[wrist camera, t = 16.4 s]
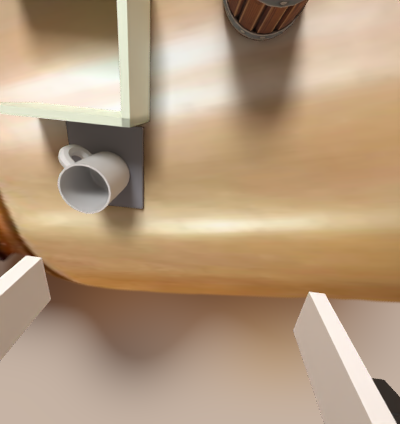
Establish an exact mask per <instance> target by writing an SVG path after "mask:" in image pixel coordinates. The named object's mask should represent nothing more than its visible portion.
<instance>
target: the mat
mask: <svg viewBox="0 0 400 424" xmlns="http://www.w3.org/2000/svg"><path fill="white" fill-rule="evenodd" d="M66 126H67V133H68V141H69V145H74V144H75V145H79V146H81V147H83V148H85V149H86V150H88V151H89V152H90V153H91V154H92V155H93V154H96V153H99V152H102V151H108V152H112V153H115V154H116V155H118V156H120V157H121V158H122V159H123V160H124V161H125V163H126V164H127V166H128V169H129V174H130V177H129V182H128V184H127V186H126V187H125V188H124V189H123V190H122V191H121V192H120V193H119V194H118V195H117V196H116V197H115V198H114V199H113V200H112V201H111V202H110V203H109V204H108V205H111V206H121V207H130V208H139V209H143V207H144V171H143V127H137V126H134V127H131V128H129V127H119V126H110V125H101V124H91V123H82V122H73V121H66ZM71 158H72V159H73V160H74V161H75V162H78V161H80V160H82V158H80V157H79V156H75V155H74V156H71Z"/></svg>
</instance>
